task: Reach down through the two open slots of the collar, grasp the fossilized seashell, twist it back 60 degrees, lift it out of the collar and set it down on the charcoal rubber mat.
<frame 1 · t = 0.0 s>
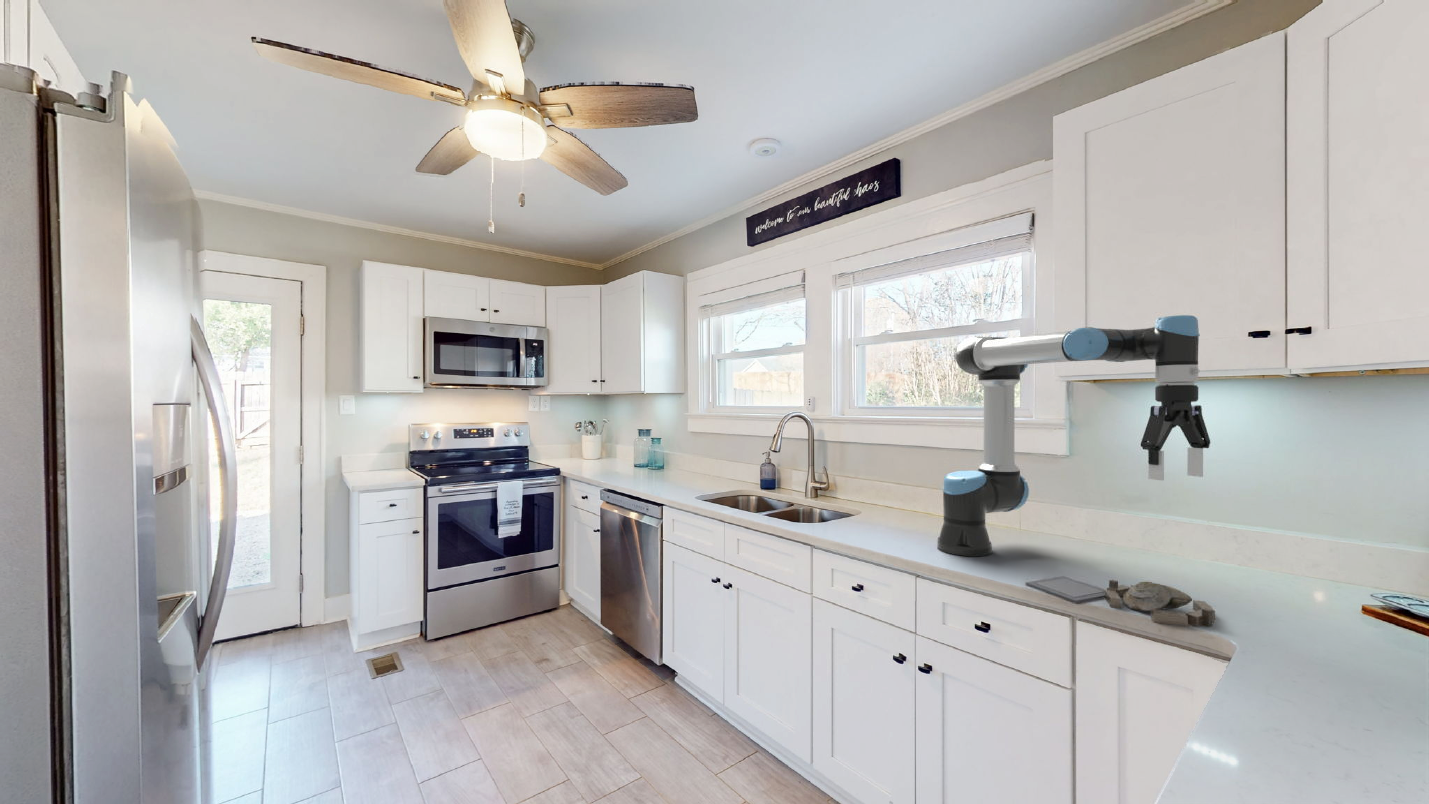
hand: (1176, 477, 125), 28 cm above the worktop, fingers open, 13 cm apart
collar: (1156, 608, 121), on the worktop
fossilized seashell: (1156, 610, 121), on the worktop
mat: (1069, 590, 133), on the worktop
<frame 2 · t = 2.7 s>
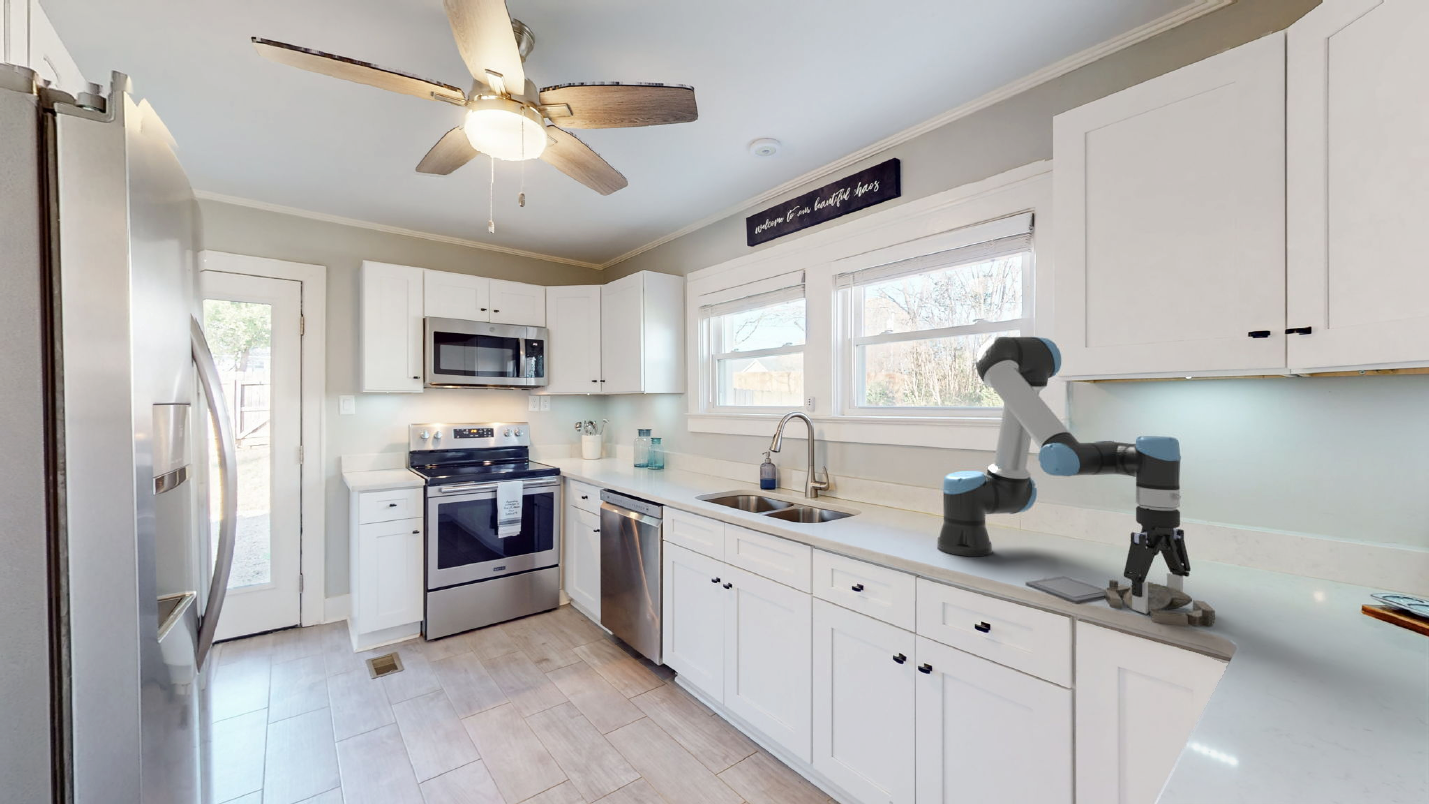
hand: (1157, 607, 121), 0 cm above the worktop, fingers closed on fossilized seashell, 11 cm apart
fossilized seashell: (1157, 610, 121), on the worktop, touching gripper
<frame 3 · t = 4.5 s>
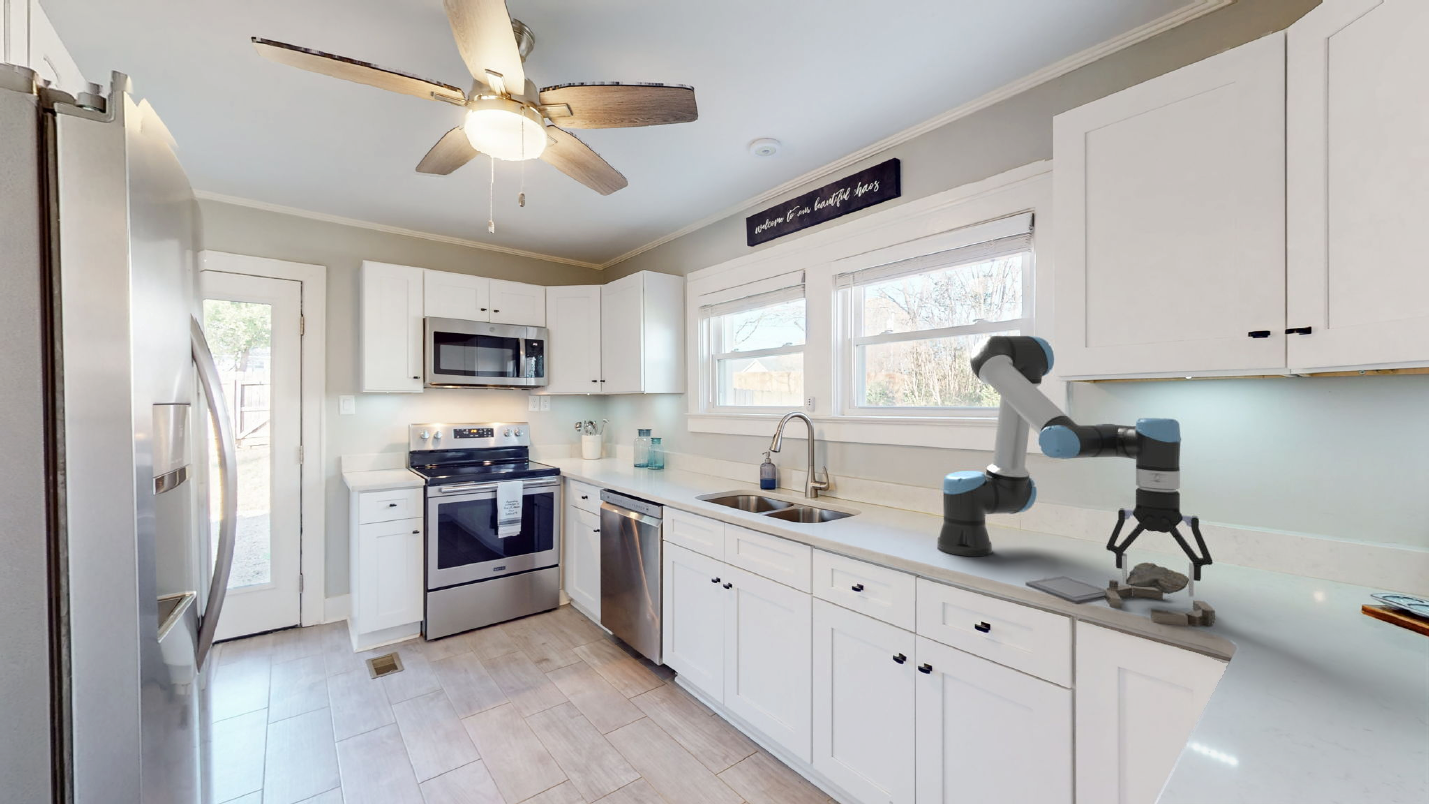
hand: (1156, 589, 121), 4 cm above the worktop, fingers closed on fossilized seashell, 11 cm apart
fossilized seashell: (1158, 592, 121), point 3 cm above the worktop, touching gripper
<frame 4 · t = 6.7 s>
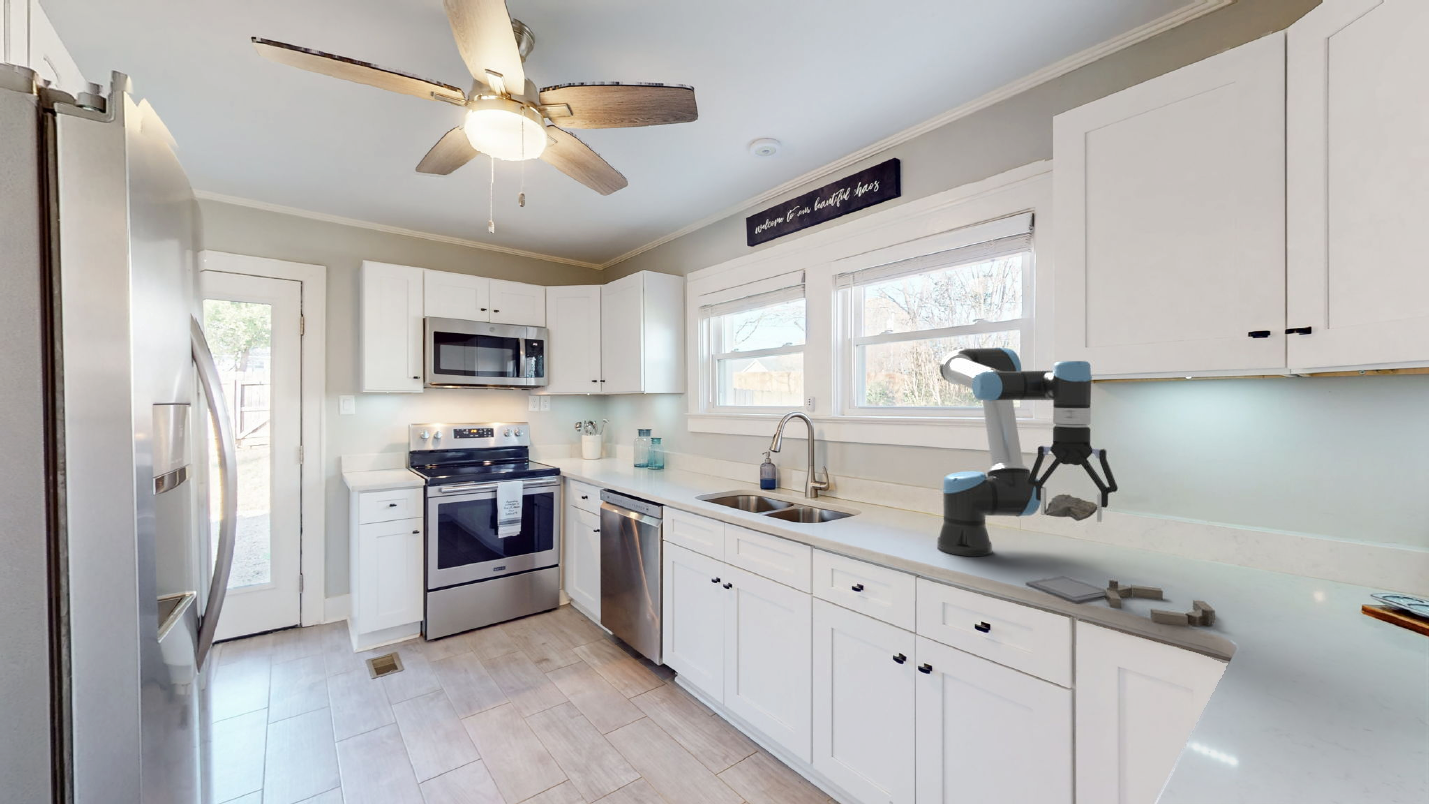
hand: (1070, 517, 132), 18 cm above the worktop, fingers closed on fossilized seashell, 11 cm apart
fossilized seashell: (1072, 520, 133), point 17 cm above the worktop, touching gripper
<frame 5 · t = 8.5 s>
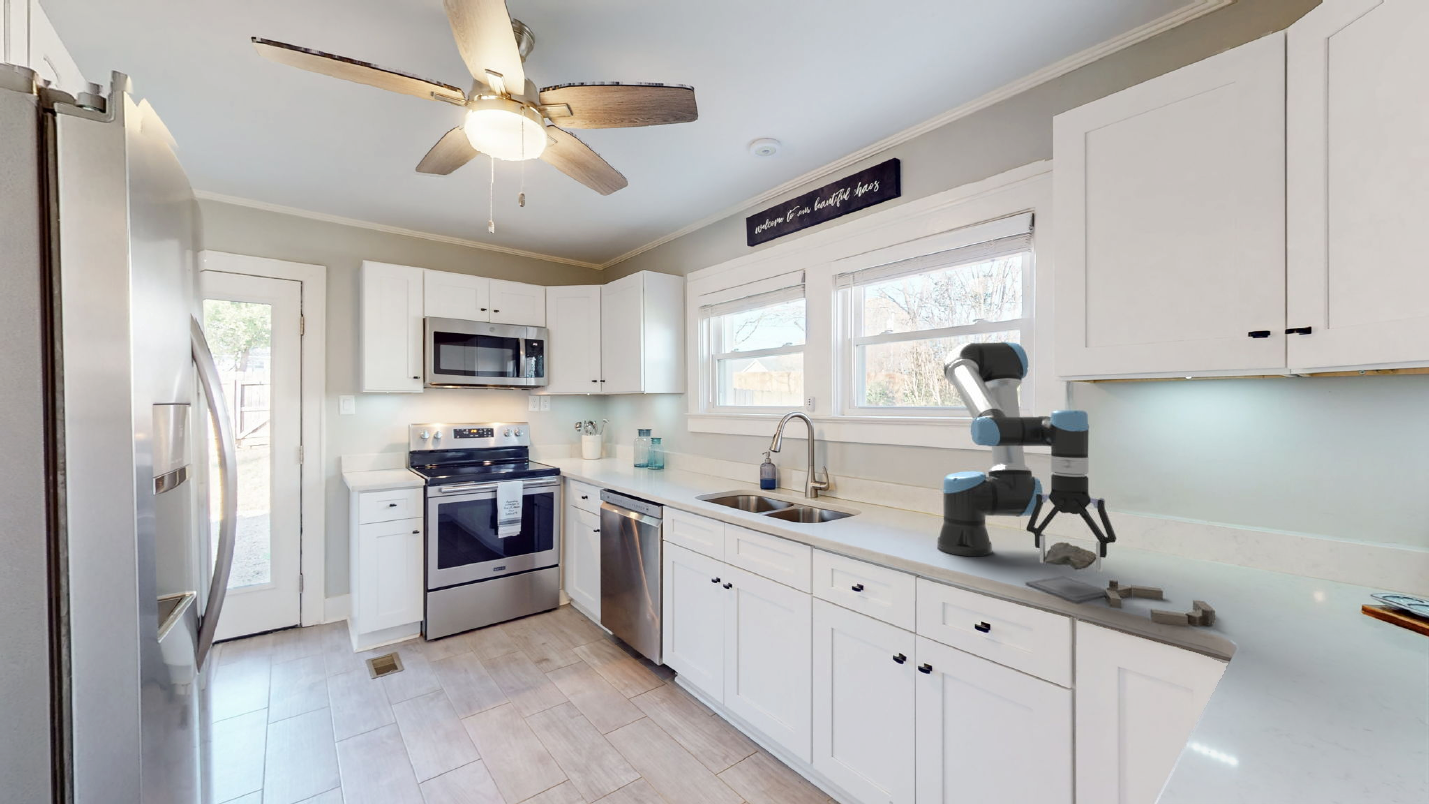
hand: (1069, 566, 132), 6 cm above the worktop, fingers closed on fossilized seashell, 11 cm apart
fossilized seashell: (1071, 569, 133), point 5 cm above the worktop, touching gripper
when the fingers open (2 cm above the worktop, at t = 9.7 s): fossilized seashell stays where it is, resting on mat.
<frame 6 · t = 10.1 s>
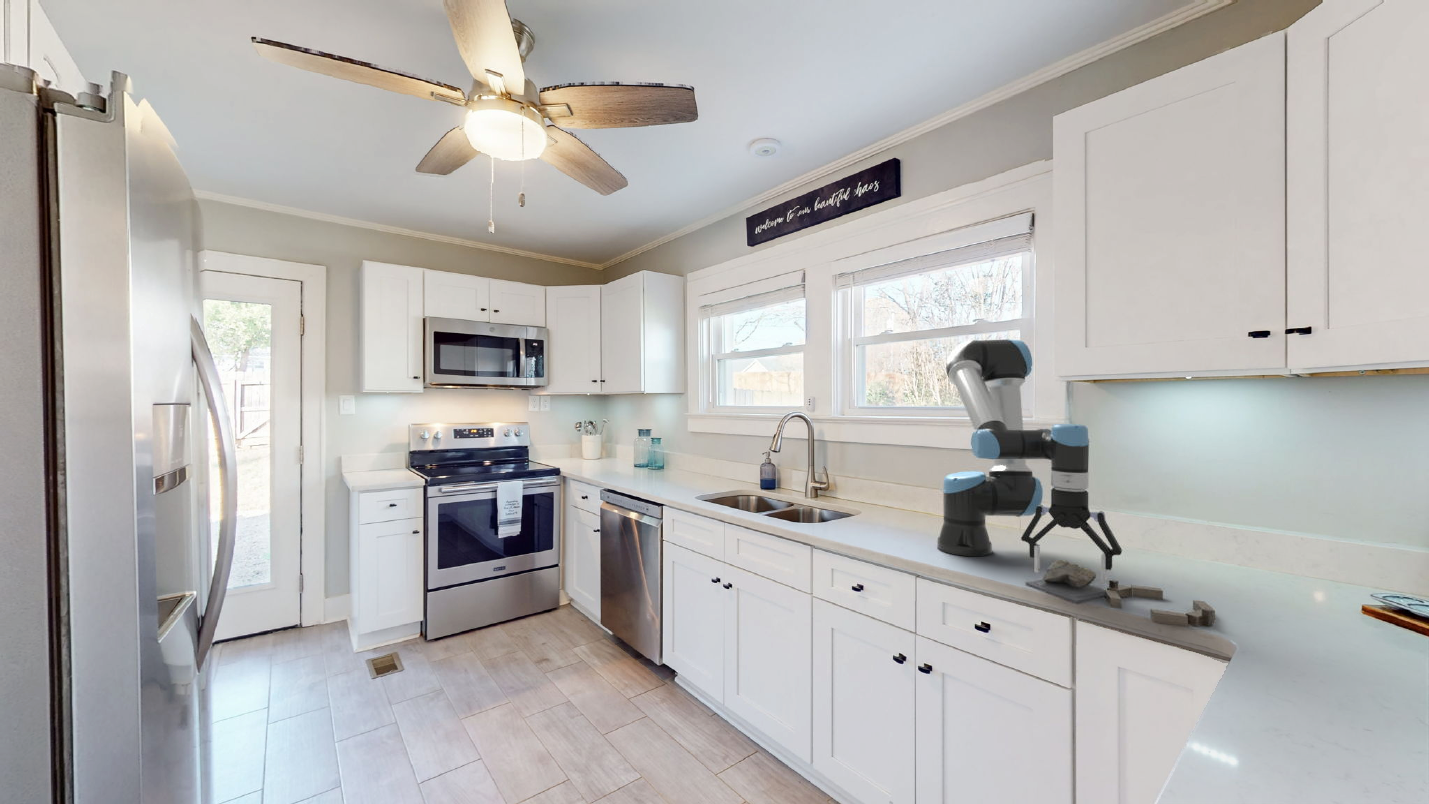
hand: (1069, 576, 133), 3 cm above the worktop, fingers open, 13 cm apart
fossilized seashell: (1070, 587, 133), resting on mat
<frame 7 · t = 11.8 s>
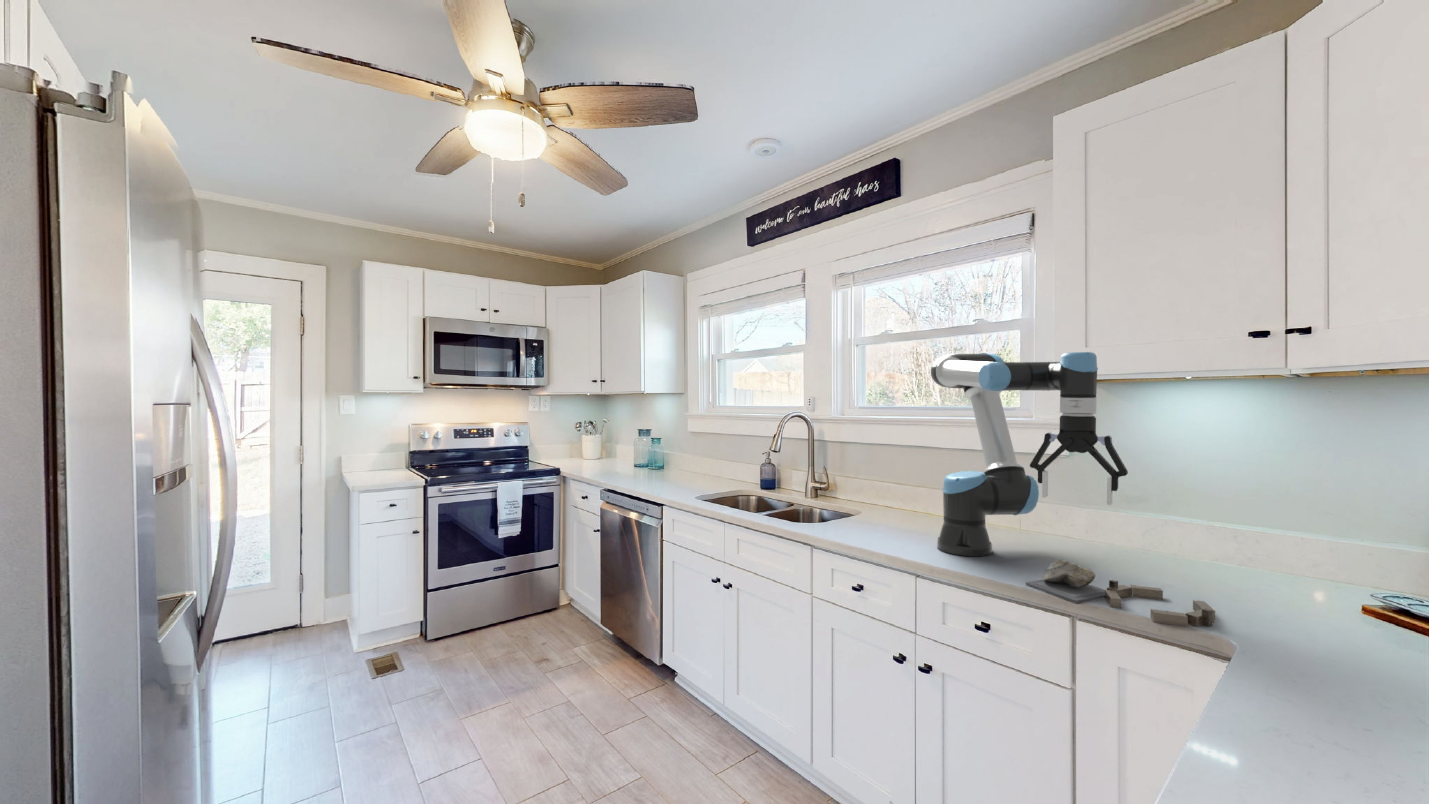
hand: (1076, 500, 137), 21 cm above the worktop, fingers open, 13 cm apart
nothing on the worktop moved.
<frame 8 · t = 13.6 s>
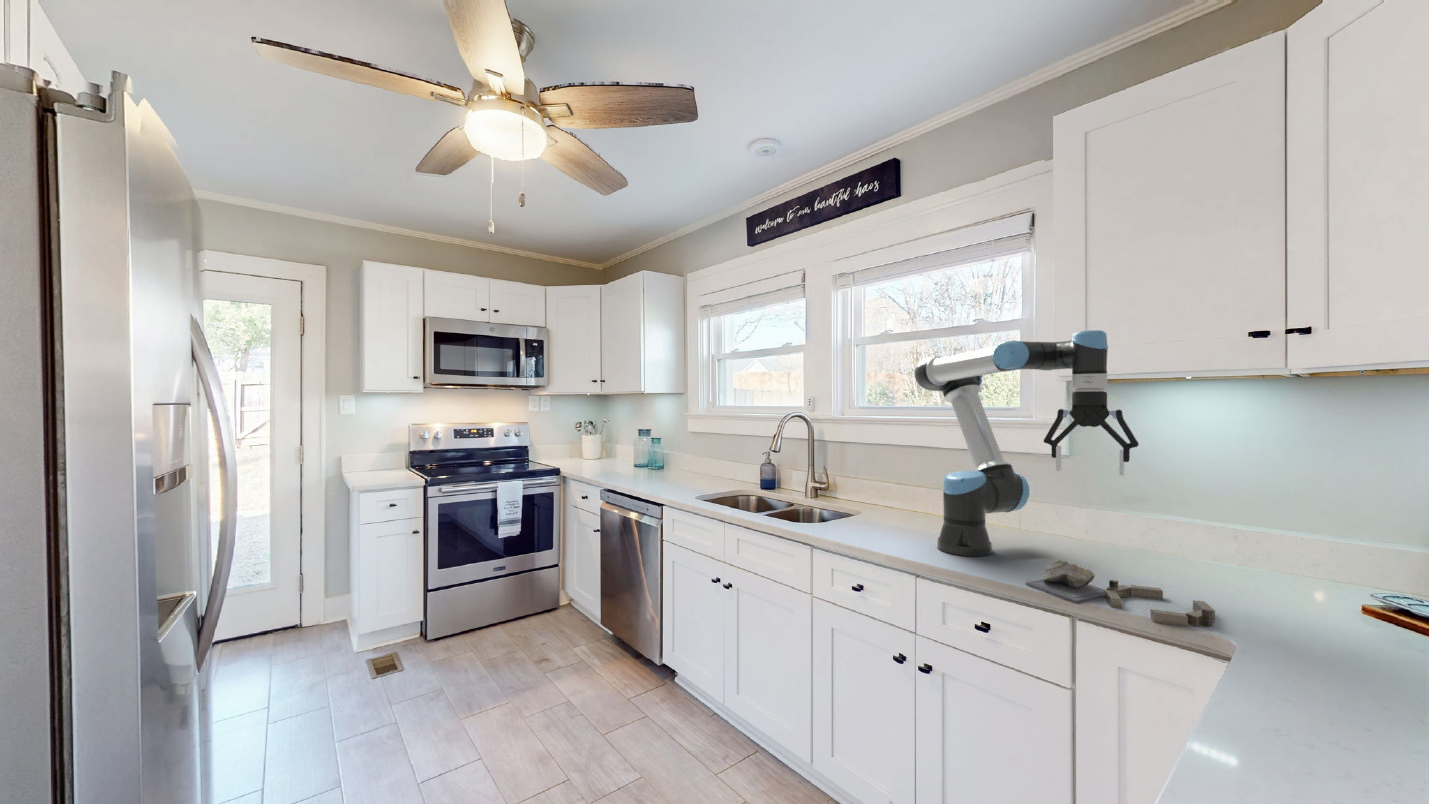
hand: (1089, 472, 143), 27 cm above the worktop, fingers open, 13 cm apart
nothing on the worktop moved.
at the end: fossilized seashell inside the target area on the mat (0.3 cm from its centre), point 0.5 cm above the mat's base; the gripper is holding nothing; fossilized seashell 16.7 cm from the collar (horizontally) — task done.
